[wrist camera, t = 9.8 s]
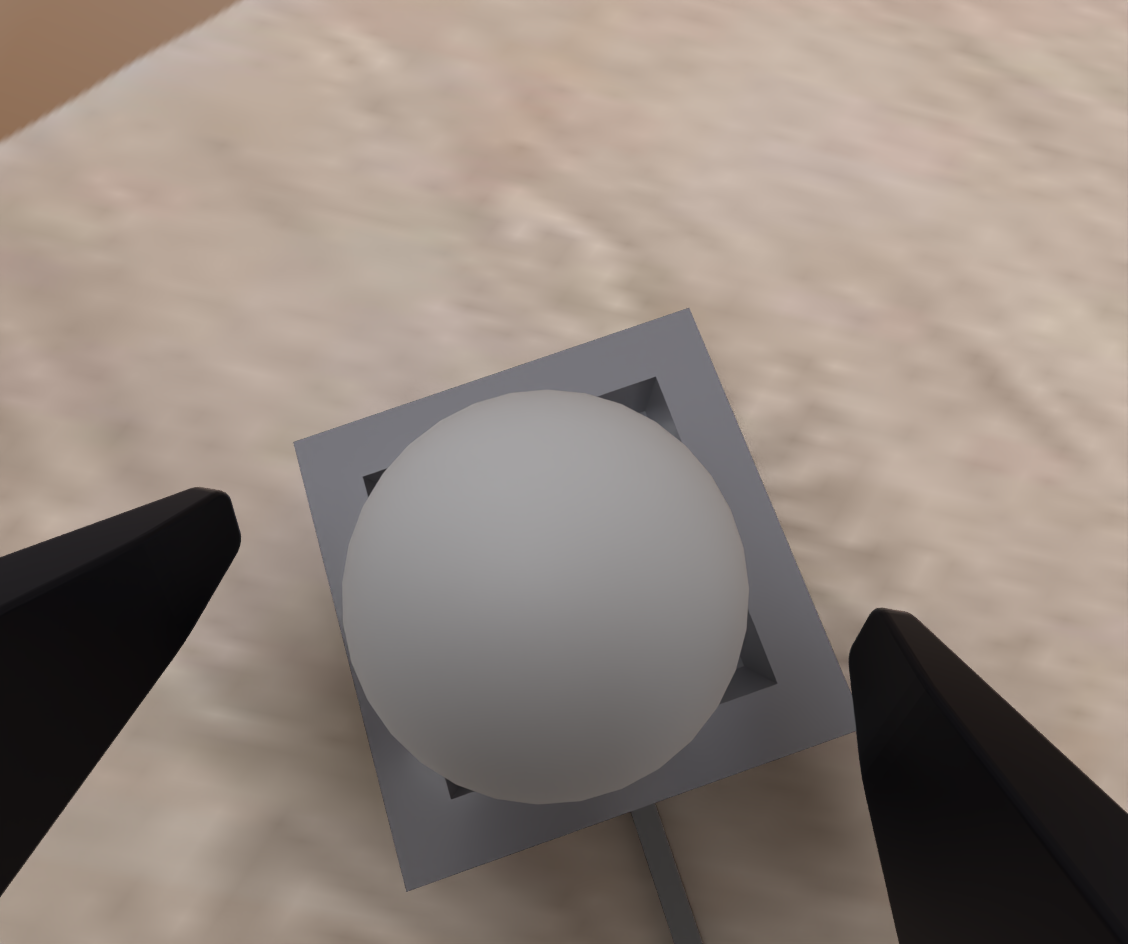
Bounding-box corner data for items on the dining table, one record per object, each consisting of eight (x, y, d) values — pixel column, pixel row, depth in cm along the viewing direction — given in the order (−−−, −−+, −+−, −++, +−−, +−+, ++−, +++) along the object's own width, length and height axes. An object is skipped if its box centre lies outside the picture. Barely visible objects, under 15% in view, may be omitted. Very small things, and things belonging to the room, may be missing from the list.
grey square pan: (970, 1055, 15) (1096, 1212, 11) (534, 1217, 15) (514, 1432, 11) (678, 343, 19) (699, 285, 15) (333, 461, 19) (270, 430, 15)
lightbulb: (708, 608, 17) (943, 681, 6) (531, 728, 16) (430, 1042, 5) (593, 436, 18) (610, 226, 7) (422, 545, 17) (154, 506, 6)
